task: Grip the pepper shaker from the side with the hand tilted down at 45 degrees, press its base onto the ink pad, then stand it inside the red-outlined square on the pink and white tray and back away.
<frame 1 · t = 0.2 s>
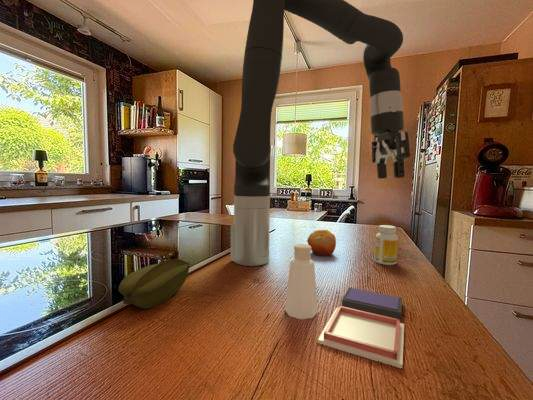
hand: (390, 178, 69), 22 cm above the kitchen island, tool pointing down, fingers open, 8 cm apart
pepper shaker: (301, 312, 44), on the kitchen island
supplement bottle: (385, 262, 71), on the kitchen island
fruit 2: (159, 299, 48), on the kitchen island
fruit: (321, 254, 78), on the kitchen island
ink pad: (372, 305, 47), on the kitchen island
pink and white tray: (363, 334, 38), on the kitchen island
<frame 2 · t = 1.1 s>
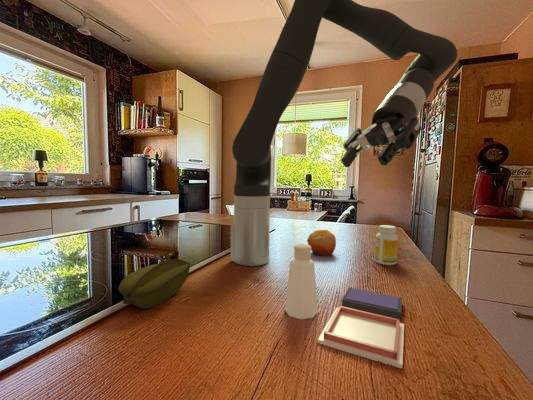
hand: (361, 163, 52), 25 cm above the kitchen island, tool tilted 45°, fingers open, 8 cm apart
nothing on the kitchen island moved.
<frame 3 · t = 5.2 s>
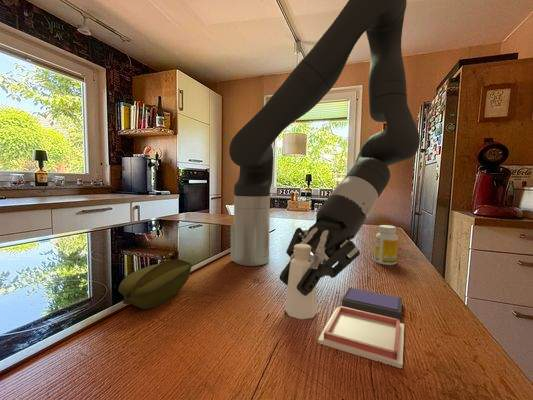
hand: (292, 286, 43), 5 cm above the kitchen island, tool tilted 45°, fingers closed on pepper shaker, 4 cm apart
pepper shaker: (301, 312, 44), on the kitchen island, touching gripper
everything else where it was.
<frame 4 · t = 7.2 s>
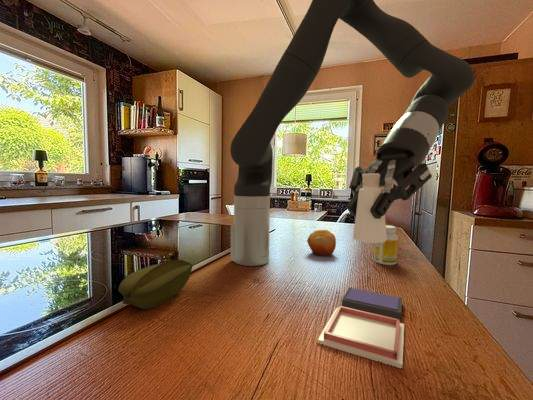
hand: (362, 213, 44), 16 cm above the kitchen island, tool tilted 45°, fingers closed on pepper shaker, 4 cm apart
pepper shaker: (369, 240, 45), point 11 cm above the kitchen island, touching gripper
everything else where it was.
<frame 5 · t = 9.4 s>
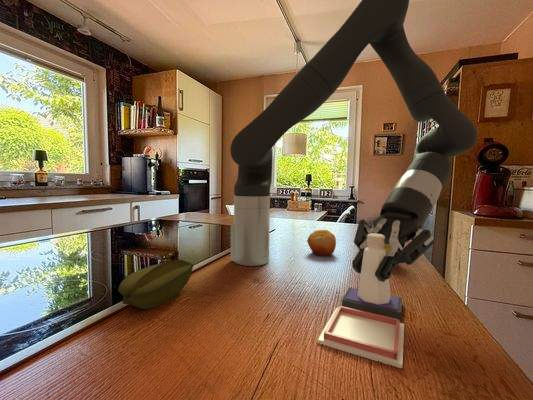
hand: (367, 273, 45), 6 cm above the kitchen island, tool tilted 45°, fingers closed on pepper shaker, 4 cm apart
pepper shaker: (373, 298, 47), point 1 cm above the kitchen island, touching gripper, ink pad
everything else where it was.
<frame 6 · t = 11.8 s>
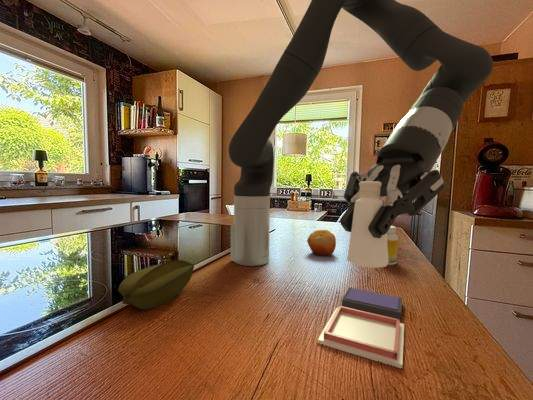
hand: (359, 230, 36), 15 cm above the kitchen island, tool tilted 45°, fingers closed on pepper shaker, 4 cm apart
pepper shaker: (367, 263, 37), point 10 cm above the kitchen island, touching gripper
everything else where it was.
when the fingers open (6 cm above the kitchen island, at t = 13.6 s): pepper shaker drops 1 cm, resting on pink and white tray.
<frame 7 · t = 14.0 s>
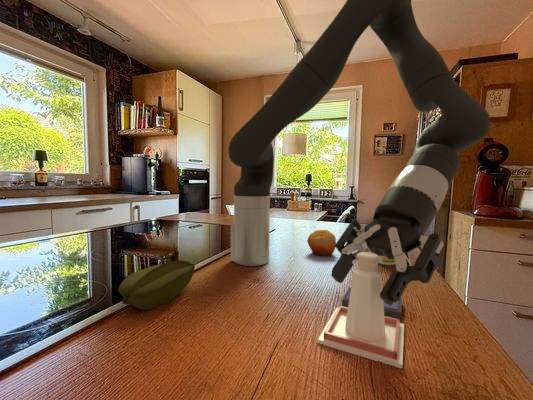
hand: (358, 289, 36), 7 cm above the kitchen island, tool tilted 45°, fingers open, 7 cm apart
pepper shaker: (364, 332, 38), resting on pink and white tray
everything else where it was.
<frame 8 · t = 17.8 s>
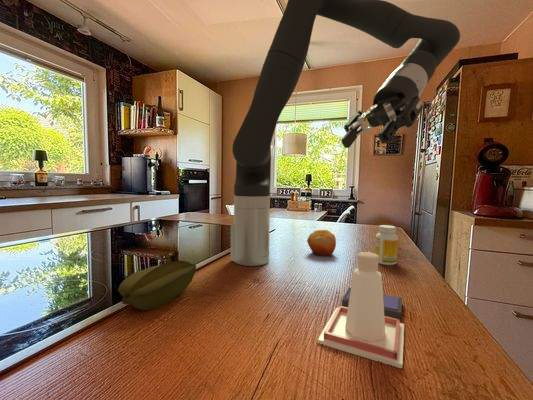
hand: (362, 142, 51), 29 cm above the kitchen island, tool tilted 45°, fingers open, 8 cm apart
nothing on the kitchen island moved.
at the end: pepper shaker inside the target area on the pink and white tray (0.3 cm from its centre), point 0.3 cm above the pink and white tray's base; pepper shaker tilted 0°; the gripper is holding nothing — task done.
